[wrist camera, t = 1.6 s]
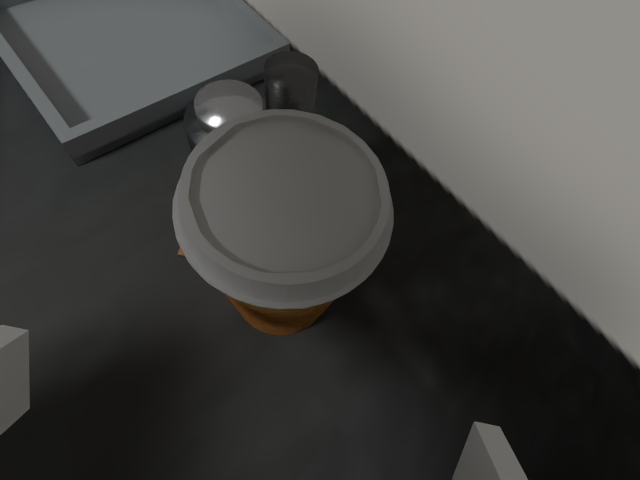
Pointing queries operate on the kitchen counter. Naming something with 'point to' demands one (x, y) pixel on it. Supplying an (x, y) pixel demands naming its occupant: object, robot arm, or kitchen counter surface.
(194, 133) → the crank base
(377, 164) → the disposable coffee cup
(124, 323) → the kitchen counter surface
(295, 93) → the crank
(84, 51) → the tray
